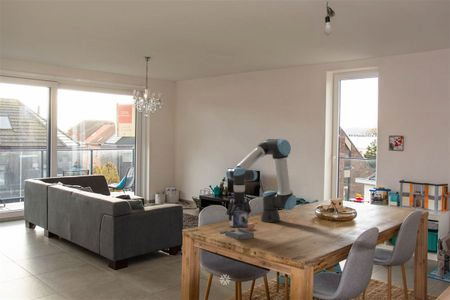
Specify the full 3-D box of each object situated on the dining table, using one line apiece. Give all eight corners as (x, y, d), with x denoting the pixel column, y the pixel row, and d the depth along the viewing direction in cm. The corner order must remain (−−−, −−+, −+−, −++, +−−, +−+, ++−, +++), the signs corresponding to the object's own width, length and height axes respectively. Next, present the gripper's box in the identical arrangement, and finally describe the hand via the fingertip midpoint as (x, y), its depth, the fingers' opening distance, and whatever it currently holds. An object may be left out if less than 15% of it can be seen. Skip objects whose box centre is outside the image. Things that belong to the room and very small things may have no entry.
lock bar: (252, 228, 277) (252, 222, 277) (254, 228, 275) (254, 223, 275) (237, 230, 270) (237, 224, 269) (240, 231, 267) (240, 225, 267)
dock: (234, 230, 270) (234, 226, 270) (253, 237, 253) (253, 232, 253) (219, 233, 263) (219, 228, 263) (239, 240, 246) (239, 235, 246)
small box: (232, 228, 251) (232, 212, 250) (229, 226, 257) (229, 210, 257) (248, 227, 254) (248, 211, 253) (244, 225, 260) (245, 209, 260)
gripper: (249, 189, 265) (249, 221, 265) (221, 191, 251) (220, 225, 251) (256, 190, 259) (256, 223, 259) (227, 193, 245) (227, 227, 245)
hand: (238, 224), depth 255 cm, fingers closed on small box, 11 cm apart
